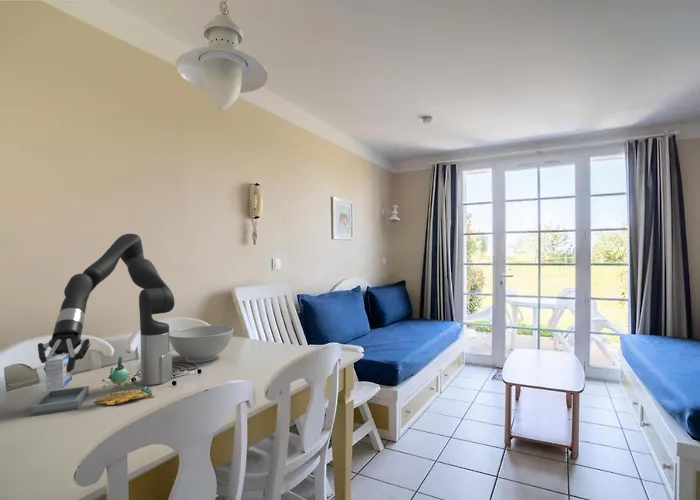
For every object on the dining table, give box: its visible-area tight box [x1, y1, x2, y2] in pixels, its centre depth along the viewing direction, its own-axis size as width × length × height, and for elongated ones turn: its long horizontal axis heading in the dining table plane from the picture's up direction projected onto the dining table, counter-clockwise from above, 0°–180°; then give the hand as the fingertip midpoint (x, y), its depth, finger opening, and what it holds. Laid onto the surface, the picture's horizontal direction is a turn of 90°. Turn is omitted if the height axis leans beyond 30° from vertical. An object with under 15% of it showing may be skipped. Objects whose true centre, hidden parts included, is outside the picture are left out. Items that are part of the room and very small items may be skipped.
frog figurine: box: [92, 356, 156, 406], centre depth 118 cm, size 10×18×15 cm, turn 91°
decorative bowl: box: [169, 324, 234, 363], centre depth 166 cm, size 27×27×12 cm
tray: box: [31, 385, 90, 417], centre depth 116 cm, size 11×14×2 cm
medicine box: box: [44, 353, 73, 391], centre depth 116 cm, size 8×4×9 cm, turn 21°
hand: (58, 371), depth 115 cm, fingers closed on medicine box, 4 cm apart
